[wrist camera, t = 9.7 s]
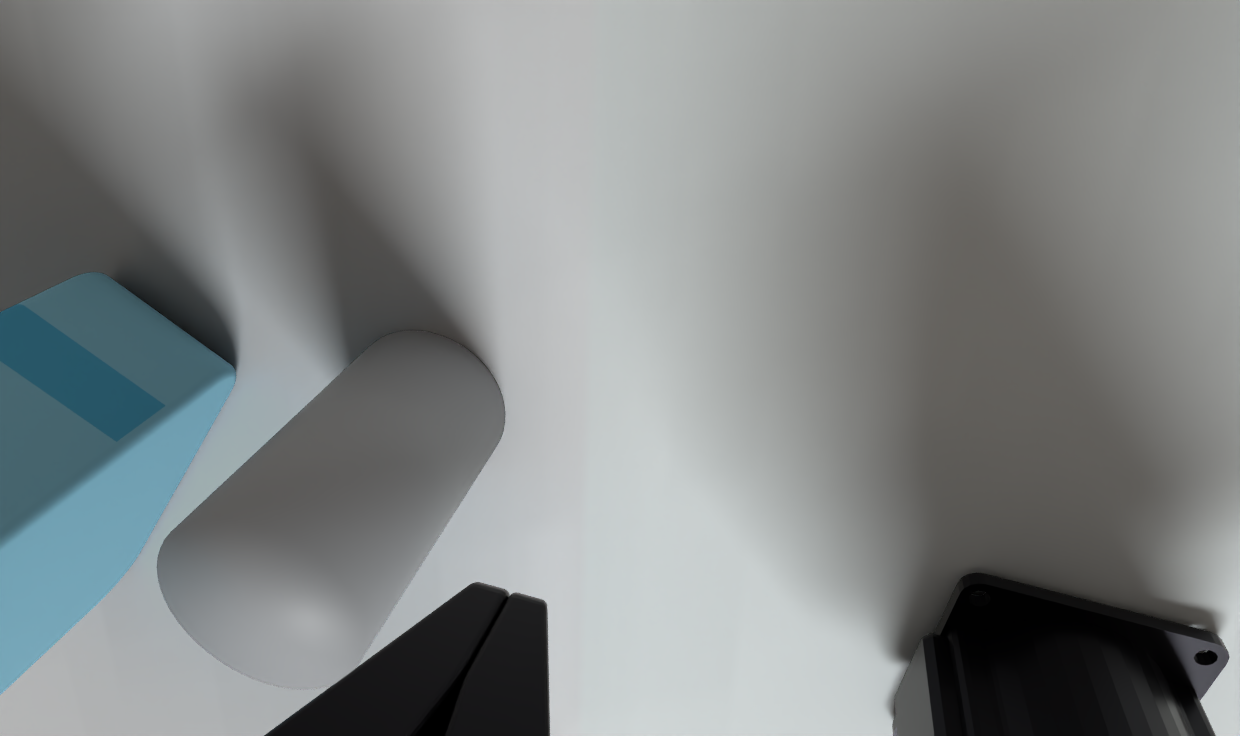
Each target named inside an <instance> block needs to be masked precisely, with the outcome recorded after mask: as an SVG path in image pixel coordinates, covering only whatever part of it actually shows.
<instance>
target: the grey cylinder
mask: <svg viewBox="0 0 1240 736" xmlns="http://www.w3.org/2000/svg"><path fill="white" fill-rule="evenodd" d="M504 425H505V407H504V402H503V398H502V394H501V392H500V389H499V387H498V385H497V383H496V381H495V379H494V378H493V376H492V374H491V373H490V372H489V370H488V369H487V368H486V366H485V365H484V364H483V363H482V362H481V361H480V360H479V359H478V358H477V357H476V356H475V355H474V354H473V353H471V352H470V351H469V350H467V349H466V348H465V347H463V346H462V345H460V344H458V343H456V342H455V341H453V340H451V339H449V338H446V337H444V336H441V335H438V334H435V333H431V332H426V331H416V330H408V331H399V332H395V333H391V334H389V335H386V336H384V337H382V338H380V339H378V340H377V341H375V342H374V343H373V344H372V345H371V346H369V347H368V348H367V349H366V350H365V351H364V352H363V353H362V354H361V355H360V356H359V357H358V358H357V359H355V360H354V361H353V362H352V363H351V364H350V365H349V366H348V367H347V368H346V369H345V370H344V371H343V372H342V373H340V374H339V375H338V376H337V377H336V378H335V379H334V380H333V381H332V382H331V383H330V384H329V385H328V386H327V387H326V388H324V389H323V390H322V391H321V392H320V393H319V394H318V395H317V396H316V397H315V398H314V399H313V400H312V401H311V402H309V403H308V404H307V405H306V406H305V407H304V408H303V409H302V410H301V411H300V412H299V413H298V414H297V415H296V416H294V417H293V418H292V419H291V420H290V421H289V422H288V423H287V424H286V425H285V426H284V427H283V428H282V429H281V430H279V431H278V432H277V433H276V434H275V435H274V436H273V437H272V438H271V439H270V440H269V441H268V442H267V443H266V444H265V445H263V446H262V447H261V448H260V449H259V450H258V451H257V452H256V453H255V454H254V455H253V456H252V457H251V458H250V459H248V460H247V461H246V462H245V463H244V464H243V465H242V466H241V467H240V468H239V469H238V470H237V471H236V472H235V473H233V474H232V475H231V476H230V477H229V478H228V479H227V480H226V481H225V482H224V483H223V484H222V485H221V486H220V487H218V488H217V489H216V490H215V491H214V492H213V493H212V494H211V495H210V496H209V497H208V498H207V499H206V500H205V501H203V502H202V503H201V504H200V505H199V506H198V507H197V508H196V509H195V510H194V511H193V512H192V513H191V514H190V515H189V516H187V517H186V518H185V519H184V520H183V521H182V522H181V523H180V524H179V525H178V526H177V527H176V528H175V529H174V530H172V531H171V532H170V534H169V535H168V536H167V537H166V538H165V540H164V542H163V544H162V546H161V548H160V551H159V554H158V560H157V574H158V581H159V585H160V589H161V591H162V594H163V597H164V599H165V601H166V603H167V605H168V607H169V609H170V611H171V612H172V614H173V615H174V617H175V618H176V620H177V621H178V623H179V624H180V625H181V626H182V628H183V629H184V630H185V631H186V632H187V633H188V634H189V635H190V637H191V638H192V639H193V640H194V641H195V642H196V643H197V644H199V645H200V646H201V647H202V648H203V649H204V650H205V651H207V652H208V653H209V654H211V655H212V656H213V657H215V658H216V659H217V660H219V661H220V662H222V663H223V664H225V665H227V666H228V667H230V668H232V669H233V670H235V671H237V672H239V673H241V674H243V675H245V676H248V677H250V678H252V679H254V680H257V681H260V682H263V683H266V684H269V685H273V686H277V687H282V688H288V689H300V690H308V689H319V688H324V687H328V686H331V685H334V684H335V683H337V682H338V681H339V680H341V679H342V678H343V677H345V676H346V675H348V674H349V673H350V672H352V671H353V670H354V669H356V667H357V666H358V665H359V663H360V661H361V660H362V658H363V657H364V655H365V654H366V652H367V650H368V649H369V647H370V646H371V644H372V642H373V641H374V639H375V638H376V636H377V635H378V633H379V631H380V630H381V628H382V627H383V625H384V624H385V622H386V620H387V619H388V617H389V616H390V614H391V612H392V611H393V609H394V608H395V606H396V605H397V603H398V601H399V600H400V598H401V597H402V595H403V593H404V592H405V590H406V589H407V587H408V586H409V584H410V582H411V581H412V579H413V578H414V576H415V575H416V573H417V571H418V570H419V568H420V567H421V565H422V563H423V562H424V560H425V559H426V557H427V556H428V554H429V552H430V551H431V549H432V548H433V546H434V544H435V543H436V541H437V540H438V538H439V537H440V535H441V533H442V532H443V530H444V529H445V527H446V525H447V524H448V522H449V521H450V519H451V518H452V516H453V514H454V513H455V511H456V510H457V508H458V507H459V505H460V503H461V502H462V500H463V499H464V497H465V495H466V494H467V492H468V491H469V489H470V488H471V486H472V484H473V483H474V481H475V480H476V478H477V476H478V475H479V473H480V472H481V470H482V469H483V467H484V465H485V464H486V462H487V461H488V459H489V457H490V456H491V454H492V453H493V451H494V450H495V448H496V446H497V445H498V443H499V441H500V439H501V437H502V434H503V431H504Z"/></svg>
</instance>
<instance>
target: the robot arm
mask: <svg viewBox="0 0 1240 736" xmlns="http://www.w3.org/2000/svg"><path fill="white" fill-rule="evenodd" d="M976 591H984V592H986V593H985V594H983V595H980V596H977V595H972V593H973V592H976ZM1203 650H1208V651H1207V652H1204V653H1198V652H1200V651H1203ZM1228 660H1229V654H1228V651H1227V649H1226V647H1225V645H1224V643H1223V641H1222V640H1221V639H1220V638H1219V637H1218V636H1217V635H1216V634H1213V633H1211V632H1208V631H1204V630H1201V629H1197V628H1193V627H1189V626H1185V625H1181V624H1177V623H1173V622H1170V621H1166V620H1162V619H1158V618H1154V617H1150V616H1146V615H1142V614H1138V613H1135V612H1131V611H1127V610H1123V609H1119V608H1115V607H1111V606H1107V605H1104V604H1100V603H1096V602H1092V601H1088V600H1084V599H1080V598H1076V597H1072V596H1069V595H1065V594H1061V593H1057V592H1053V591H1049V590H1045V589H1041V588H1038V587H1034V586H1030V585H1026V584H1022V583H1018V582H1014V581H1010V580H1006V579H1003V578H999V577H995V576H991V575H987V574H982V573H973V574H968V575H966V576H964V577H963V578H961V580H960V581H959V582H958V584H957V586H956V588H955V590H954V592H953V594H952V596H951V599H950V601H949V603H948V605H947V607H946V609H945V611H944V613H943V616H942V618H941V620H940V622H939V624H938V626H937V628H936V631H935V633H934V634H933V633H929V634H928V635H926V636H925V637H923V638H922V639H921V641H920V643H919V645H918V647H917V649H916V652H915V654H914V656H913V658H912V660H911V662H910V665H909V667H908V669H907V671H906V673H905V675H904V678H903V680H902V682H901V684H900V686H899V689H898V691H897V693H896V695H895V712H896V716H895V718H894V720H893V725H892V727H893V736H1216V735H1215V733H1214V731H1213V729H1212V726H1211V724H1210V722H1209V720H1208V718H1207V716H1206V713H1205V711H1204V709H1203V707H1202V705H1201V703H1200V700H1201V698H1202V697H1203V696H1204V694H1205V693H1206V692H1207V690H1208V689H1209V688H1210V686H1211V685H1212V683H1213V682H1214V681H1215V679H1216V678H1217V677H1218V675H1219V674H1220V672H1221V671H1222V670H1223V668H1224V667H1225V666H1226V664H1227V662H1228ZM264 736H550V711H549V663H548V614H547V604H546V602H545V601H544V600H542V599H538V598H535V597H531V596H527V595H524V594H520V593H513V594H511V595H509V593H508V591H507V590H505V589H502V588H498V587H495V586H491V585H488V584H484V583H480V582H476V583H472V584H470V585H469V586H467V587H466V588H465V589H463V590H462V591H461V592H459V593H458V594H457V595H455V596H454V597H452V598H451V599H450V600H448V601H447V602H446V603H444V604H443V605H442V606H440V607H439V608H437V609H436V610H435V611H433V612H432V613H431V614H429V615H428V616H427V617H425V618H424V619H422V620H421V621H420V622H418V623H417V624H416V625H414V626H413V627H412V628H410V629H409V630H407V631H406V632H405V633H403V634H402V635H401V636H399V637H398V638H397V639H395V640H394V641H392V642H391V643H390V644H388V645H387V646H386V647H384V648H383V649H382V650H380V651H379V652H378V653H376V654H375V655H373V656H372V657H371V658H369V659H368V660H367V661H365V662H364V663H363V664H361V665H360V666H358V667H357V668H356V669H354V670H353V671H352V672H350V673H349V674H348V675H346V676H345V677H343V678H342V679H341V680H339V681H338V682H337V683H335V684H334V685H333V686H331V687H330V688H328V689H327V690H326V691H324V692H323V693H322V694H320V695H319V696H318V697H316V698H315V699H313V700H312V701H311V702H309V703H308V704H307V705H305V706H304V707H303V708H301V709H300V710H299V711H297V712H296V713H294V714H293V715H292V716H290V717H289V718H288V719H286V720H285V721H284V722H282V723H281V724H279V725H278V726H277V727H275V728H274V729H273V730H271V731H270V732H269V733H267V734H266V735H264Z"/></svg>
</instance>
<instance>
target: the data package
mask: <svg viewBox="0 0 1240 736" xmlns="http://www.w3.org/2000/svg"><path fill="white" fill-rule="evenodd" d="M235 381H236V371H235V369H234V368H233V366H232V365H231V364H229V363H228V362H226V361H225V360H224V359H222V358H221V357H219V356H218V355H217V354H215V353H214V352H213V351H211V350H210V349H208V348H207V347H206V346H204V345H203V344H201V343H200V342H199V341H197V340H196V339H195V338H193V337H192V336H190V335H189V334H188V333H186V332H185V331H184V330H182V329H181V328H179V327H178V326H177V325H175V324H174V323H172V322H171V321H170V320H168V319H167V318H166V317H164V316H163V315H161V314H160V313H159V312H157V311H156V310H154V309H153V308H152V307H150V306H149V305H148V304H146V303H145V302H143V301H142V300H141V299H139V298H138V297H137V296H135V295H134V294H132V293H131V292H130V291H128V290H127V289H125V288H124V287H123V286H121V285H120V284H119V283H117V282H116V281H114V280H113V279H112V278H110V277H109V276H107V275H105V274H103V273H98V272H89V273H84V274H81V275H77V276H75V277H73V278H70V279H68V280H66V281H64V282H62V283H60V284H58V285H56V286H54V287H51V288H49V289H47V290H45V291H43V292H41V293H39V294H37V295H35V296H33V297H31V298H29V299H26V300H24V301H22V302H20V303H18V304H16V305H14V306H12V307H10V308H8V309H6V310H3V311H1V312H0V695H1V694H2V693H3V692H4V691H5V690H6V689H7V688H8V687H9V686H10V685H11V684H12V683H14V682H15V681H16V680H17V679H18V678H19V677H20V676H21V675H22V674H23V673H24V672H25V671H26V670H27V669H28V668H30V667H31V666H32V665H33V664H34V663H35V662H36V661H37V660H38V659H39V658H40V657H41V656H42V655H43V654H44V653H46V652H47V651H48V650H49V649H50V648H51V647H52V646H53V645H54V644H55V643H56V642H57V641H58V640H59V639H60V638H62V637H63V636H64V635H65V634H66V633H67V632H68V631H69V630H70V629H71V628H72V627H73V626H74V625H75V624H76V623H77V622H79V621H80V620H81V619H82V618H83V617H84V616H85V615H86V614H87V613H88V612H89V611H90V610H91V609H92V608H93V607H95V606H96V605H97V604H98V603H99V602H100V601H101V600H102V599H103V598H104V597H105V596H106V595H107V594H108V593H109V591H110V590H111V589H112V588H113V587H114V586H115V585H116V584H117V583H118V581H119V580H120V579H121V578H122V577H123V576H124V574H125V573H126V572H127V571H128V569H129V568H130V567H131V565H132V564H133V563H134V561H135V560H136V558H137V557H138V555H139V553H140V552H141V550H142V548H143V546H144V545H145V543H146V541H147V539H148V537H149V536H150V534H151V532H152V530H153V529H154V527H155V525H156V523H157V522H158V520H159V518H160V516H161V514H162V513H163V511H164V509H165V507H166V506H167V504H168V502H169V500H170V499H171V497H172V495H173V493H174V491H175V490H176V488H177V486H178V484H179V483H180V481H181V479H182V477H183V476H184V474H185V472H186V470H187V468H188V467H189V465H190V463H191V461H192V460H193V458H194V456H195V454H196V453H197V451H198V449H199V447H200V445H201V444H202V442H203V440H204V438H205V437H206V435H207V433H208V431H209V430H210V428H211V426H212V424H213V422H214V421H215V419H216V417H217V415H218V414H219V412H220V410H221V408H222V407H223V405H224V403H225V401H226V399H227V398H228V396H229V394H230V392H231V390H232V388H233V386H234V384H235Z"/></svg>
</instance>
